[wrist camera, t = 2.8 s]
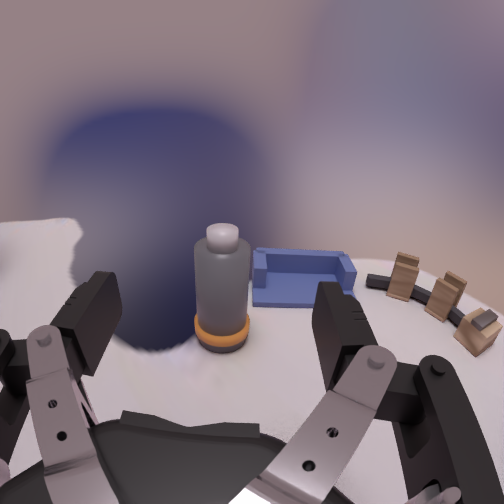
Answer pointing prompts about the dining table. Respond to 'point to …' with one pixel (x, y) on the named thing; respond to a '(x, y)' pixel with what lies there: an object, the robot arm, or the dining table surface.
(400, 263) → the clip
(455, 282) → the clip
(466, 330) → the tan wooden end block
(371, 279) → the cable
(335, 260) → the holder
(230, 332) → the grey piece
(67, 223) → the dining table surface
